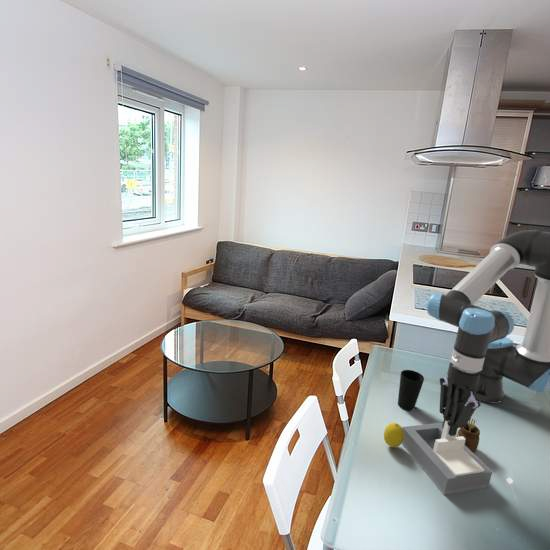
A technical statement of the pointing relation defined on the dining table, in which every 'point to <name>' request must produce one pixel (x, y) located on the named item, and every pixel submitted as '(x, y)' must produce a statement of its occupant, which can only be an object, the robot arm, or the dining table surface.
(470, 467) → the panel
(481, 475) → the socket block
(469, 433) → the utensil holder
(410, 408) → the cup
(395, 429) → the lemon
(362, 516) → the dining table surface
